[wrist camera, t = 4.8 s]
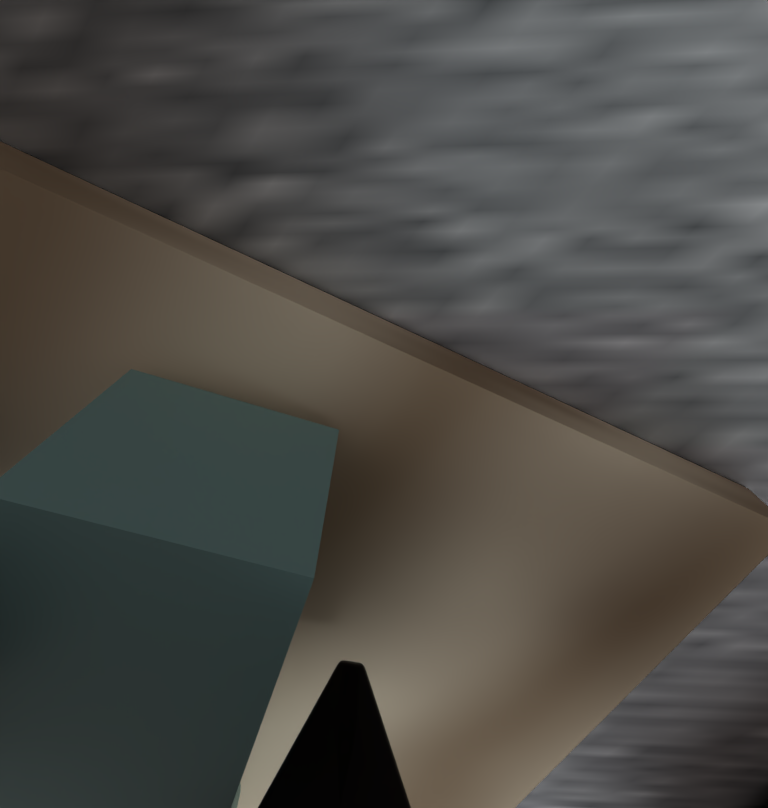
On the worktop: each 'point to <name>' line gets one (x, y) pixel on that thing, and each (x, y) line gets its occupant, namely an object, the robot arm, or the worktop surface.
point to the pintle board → (387, 491)
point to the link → (152, 594)
